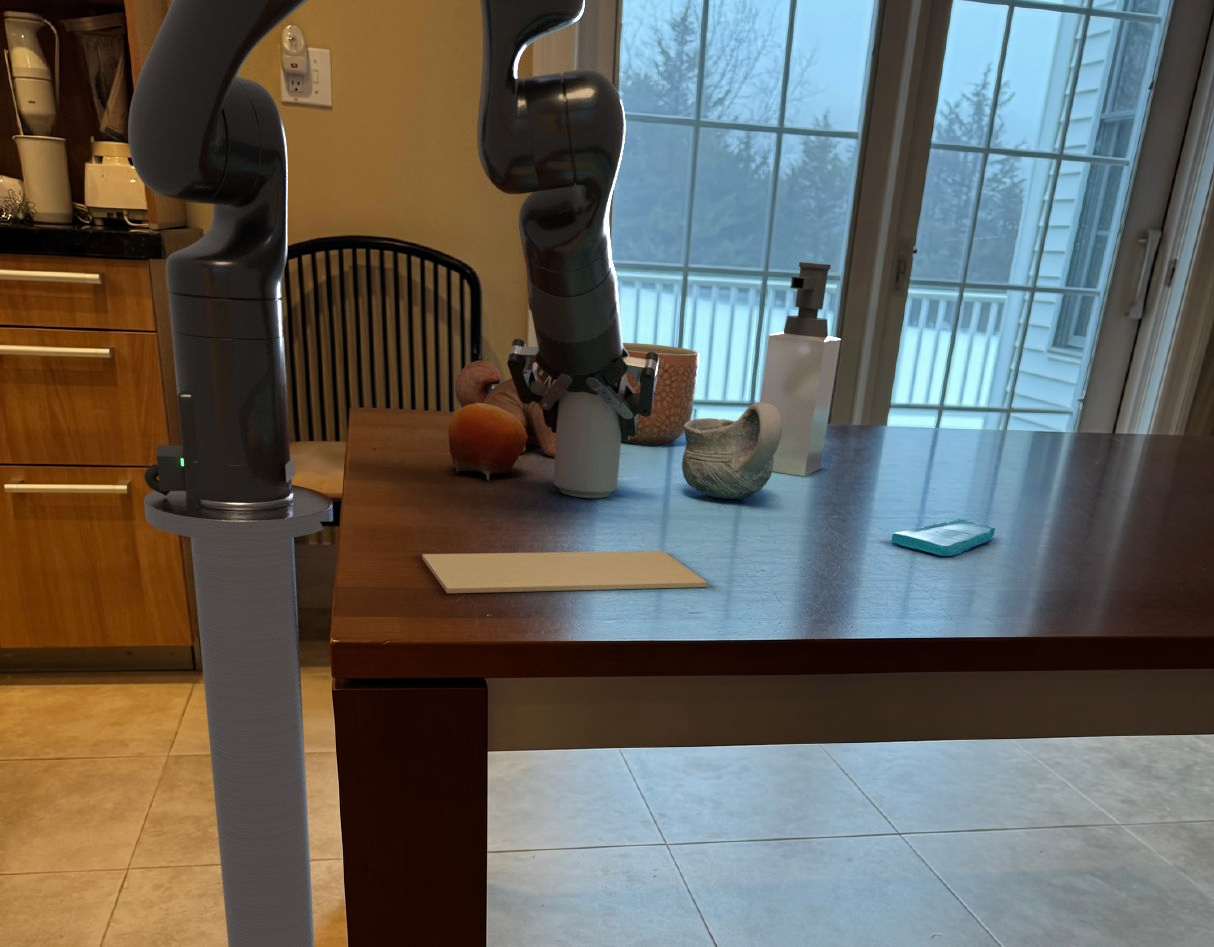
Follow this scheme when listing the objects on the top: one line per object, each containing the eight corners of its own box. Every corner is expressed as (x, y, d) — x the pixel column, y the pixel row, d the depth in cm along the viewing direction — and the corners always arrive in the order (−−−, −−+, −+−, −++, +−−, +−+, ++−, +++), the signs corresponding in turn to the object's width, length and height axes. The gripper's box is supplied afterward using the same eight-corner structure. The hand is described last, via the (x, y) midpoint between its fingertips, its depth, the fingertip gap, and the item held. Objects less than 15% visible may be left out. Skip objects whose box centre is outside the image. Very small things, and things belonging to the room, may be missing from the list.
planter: (693, 437, 150) (703, 348, 145) (687, 452, 139) (697, 357, 134) (601, 428, 151) (607, 339, 146) (587, 442, 140) (593, 347, 135)
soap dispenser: (744, 470, 131) (771, 260, 121) (769, 460, 138) (796, 261, 128) (798, 479, 129) (830, 265, 119) (820, 468, 136) (852, 266, 126)
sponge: (1015, 534, 107) (963, 513, 110) (945, 548, 99) (891, 526, 102) (1010, 549, 107) (958, 528, 111) (939, 565, 100) (886, 542, 103)
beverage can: (565, 499, 109) (574, 367, 104) (544, 485, 114) (551, 359, 109) (626, 499, 112) (637, 370, 106) (602, 485, 117) (612, 361, 111)
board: (446, 593, 79) (447, 588, 79) (422, 559, 87) (422, 553, 87) (706, 587, 86) (707, 582, 86) (662, 555, 93) (663, 550, 93)
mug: (730, 484, 123) (742, 387, 118) (809, 511, 114) (826, 406, 109) (659, 489, 117) (668, 387, 113) (736, 517, 108) (750, 407, 104)
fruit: (425, 462, 113) (443, 386, 114) (453, 491, 121) (471, 420, 121) (499, 472, 111) (518, 395, 112) (523, 502, 119) (541, 430, 119)
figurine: (596, 466, 126) (606, 321, 119) (438, 444, 130) (439, 303, 124) (622, 453, 134) (633, 317, 128) (473, 433, 139) (476, 300, 132)
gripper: (665, 277, 96) (670, 406, 112) (502, 261, 98) (529, 390, 114) (650, 348, 94) (657, 469, 110) (483, 331, 96) (513, 453, 112)
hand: (592, 429), depth 112 cm, fingers closed on beverage can, 6 cm apart
